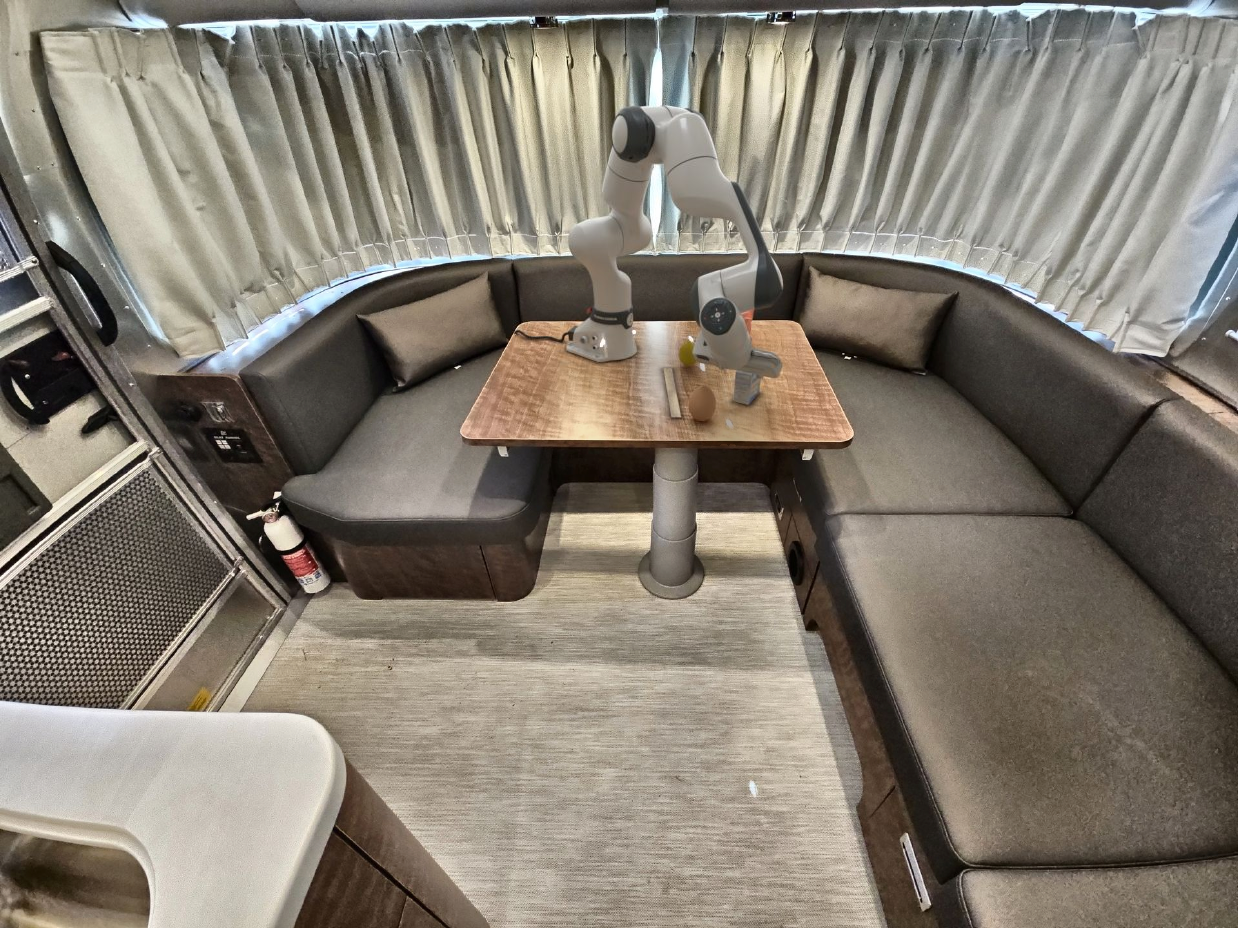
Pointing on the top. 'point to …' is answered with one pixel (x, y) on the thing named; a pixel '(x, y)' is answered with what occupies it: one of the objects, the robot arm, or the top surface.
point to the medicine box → (745, 387)
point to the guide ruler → (671, 393)
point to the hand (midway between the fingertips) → (742, 371)
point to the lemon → (687, 354)
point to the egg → (702, 403)
